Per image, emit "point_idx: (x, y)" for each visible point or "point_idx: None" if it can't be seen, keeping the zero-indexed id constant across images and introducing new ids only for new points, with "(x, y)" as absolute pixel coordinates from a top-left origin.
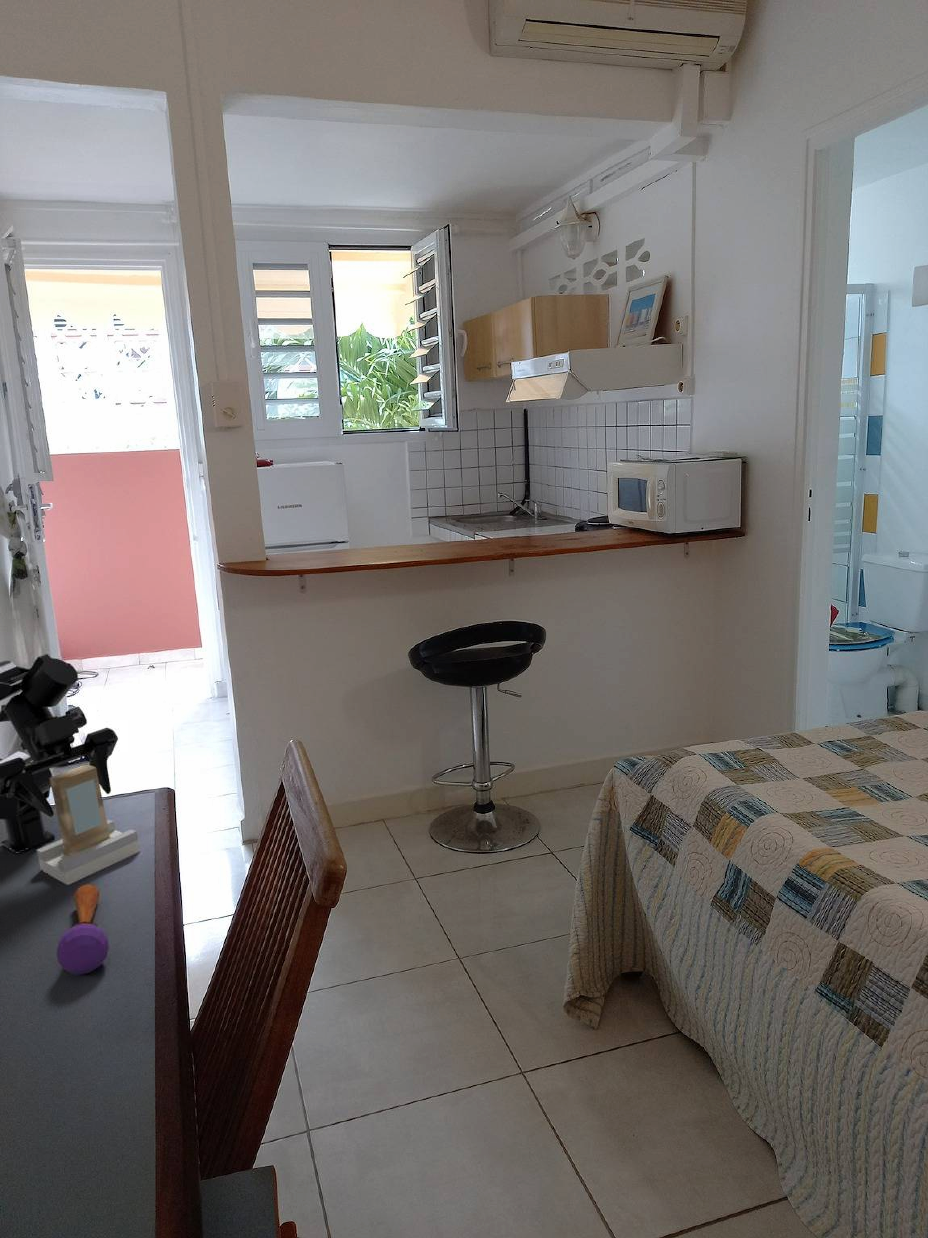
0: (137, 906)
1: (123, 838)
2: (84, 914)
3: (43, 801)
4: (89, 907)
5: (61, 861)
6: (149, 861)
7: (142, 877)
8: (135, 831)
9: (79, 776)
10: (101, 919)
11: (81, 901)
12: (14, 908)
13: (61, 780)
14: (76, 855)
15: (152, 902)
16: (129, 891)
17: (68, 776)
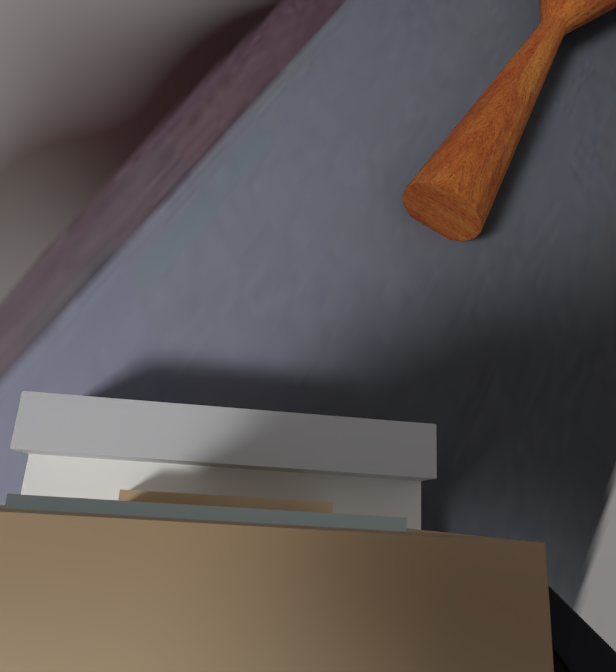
0: (346, 79)
1: (106, 399)
2: (540, 47)
3: (604, 661)
4: (506, 75)
5: (427, 460)
6: (110, 293)
7: (214, 212)
8: (24, 394)
9: (183, 520)
10: (450, 119)
11: (511, 118)
12: (603, 469)
13: (495, 541)
14: (353, 446)
15: (307, 55)
16: (302, 175)
17: (337, 609)
